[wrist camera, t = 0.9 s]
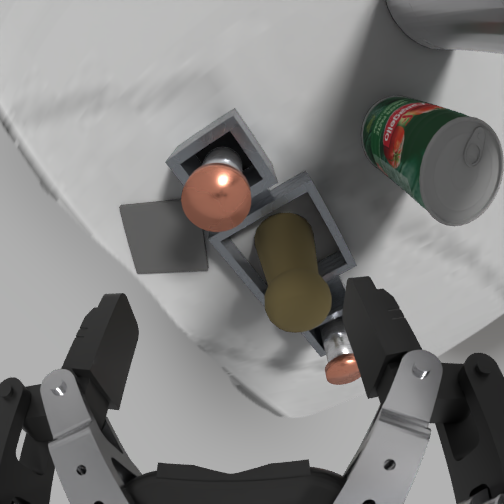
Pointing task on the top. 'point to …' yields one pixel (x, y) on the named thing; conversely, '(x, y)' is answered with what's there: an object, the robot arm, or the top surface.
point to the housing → (265, 211)
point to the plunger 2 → (338, 353)
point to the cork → (291, 273)
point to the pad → (163, 238)
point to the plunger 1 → (217, 192)
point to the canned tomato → (435, 156)
